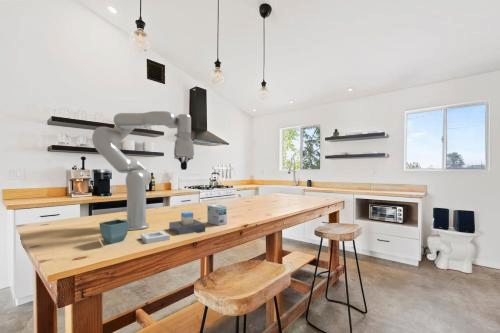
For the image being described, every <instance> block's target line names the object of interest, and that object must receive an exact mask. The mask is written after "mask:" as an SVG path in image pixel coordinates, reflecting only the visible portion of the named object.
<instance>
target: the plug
mask: <svg viewBox="0 0 500 333" xmlns="http://www.w3.org/2000/svg"><path fill="white" fill-rule="evenodd" d="M180 214H181V215H180V216H181V217H180V218H181V220H180V221H181V224H182V225H189V224H193V219H194V212H191V211H185V212H184V211H183V212H182V211H181V213H180Z"/></svg>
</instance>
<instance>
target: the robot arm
mask: <svg viewBox="0 0 500 333" xmlns="http://www.w3.org/2000/svg"><path fill="white" fill-rule="evenodd" d="M113 123H114V125H115V126H114V127H113V128H112V127H108V126H98V127H97V128H95V129H94V131H93V133H92V137H91V140H92V144H93V146H94V148H95V150H96V151H97V152H98V154H100V155H101V156H102V157H103V158H104V159H105V160H106V161H107V163H109V164H110V165H111V167H112V168H114V170H115V171H117V172H118V173H121V174H127V175H126V176H125V186H126V219H121V220H123V221H128V222H129V226H128V231H136V230H137V231H139V230H144V229H147V228H148V227H150V226H149V225H150V224H149V223H147V191H146V186H148V185H149V184H150V183H151V182H152V175H151V173H150V172H149V171H148V169H147V168H146V167H144V166H143V165H142V163H140V161H139V160H138V159H136V158H134V157H133V156H128V155H125V153H123V152H122V151H121V150H120V148H118V147H117V146H116V145H115V144H119V143H120V142H122V141H123V140H124V139H125V138H127V136H129V135H130V134H131V133H132V132H133V131H134V130H135V129H140V130H141V129H142V130H143V129H144V130H146V129H147V128H148V127H152V126H165V127H167V128H169V129H176V133H174V137H175V138H176V139H175V142H174V148H173V154H174V157H173V158H174V159H175V160H178V161H179V162H180V169H181V170H183V171H184V170H185V171H186V170H187V168H188V162H189V161H190V160H193V159H194V156H195V149H194V148H195V147H194V141H193V139H192V117H191V115H190V114H186V113H180V114H177V115H176V114H175V115H174V114H173V113H172V112H170V111H163V110H162V111H159V110H158V111H155V110H154V111H153V110H152V111H146V112H119V113H116V114H115V115H114V116H113Z"/></svg>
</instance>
